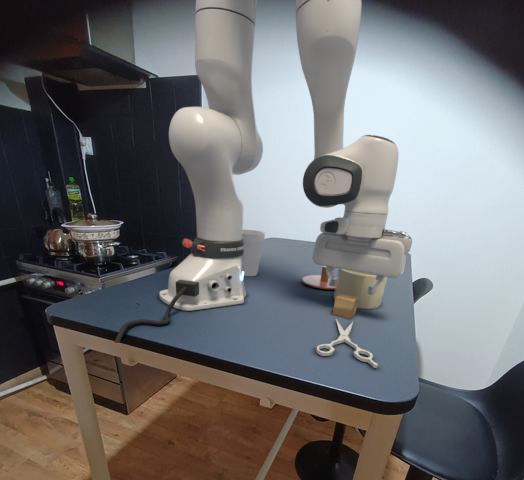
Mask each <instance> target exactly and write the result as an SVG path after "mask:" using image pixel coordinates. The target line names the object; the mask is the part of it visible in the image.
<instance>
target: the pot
mask: <svg viewBox="0 0 524 480" xmlns="http://www.w3.org/2000/svg"><path fill="white" fill-rule="evenodd" d="M337 269H338V270H337V275H336V278H338V279H337V285H336V286H335V289H334V291H333V299H334V300H335V298H336V296H338V295H339V294H341V293H345V294H350V295H354V296H358V297H359V300H358V305H357V309H363V310H364V309H365V310H371V309H378V308H379V307H381V305H382V301H383V297H384V293H385V290H386V286H387V282H388V279H389V277H385V278H384V280H383V281H382V282H381V283H380V284H379V285H378V286H377V289H376V293H375V295H371V294H367V292H368V291H369V290H368V288H369V286H370V285H375V284H376V282H377V281H378V280H376V275H373V274H367V273H362V272H356V271H351V270H345V269H340V268H337Z"/></svg>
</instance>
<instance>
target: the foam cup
mask: <svg viewBox="0 0 524 480" xmlns="http://www.w3.org/2000/svg"><path fill="white" fill-rule="evenodd" d="M265 235H266V233H265V232H264V231H261V230H255V229H243V233H242V239H243V240H244V254H243V256H242V270H243V271H244V277H254V276H255V277H256V276H257V275H258V273H259V266H260V262H261V256H262V252H263V247H264V242H265V237H266V236H265Z"/></svg>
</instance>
